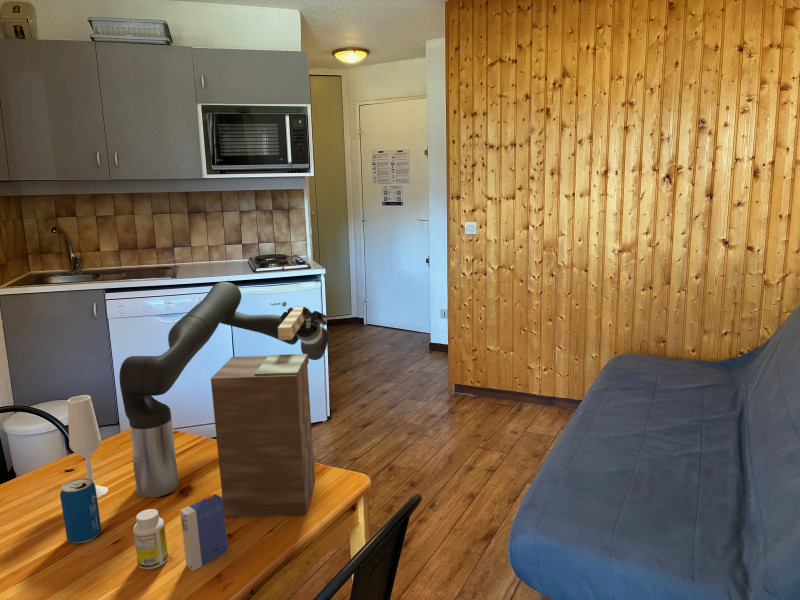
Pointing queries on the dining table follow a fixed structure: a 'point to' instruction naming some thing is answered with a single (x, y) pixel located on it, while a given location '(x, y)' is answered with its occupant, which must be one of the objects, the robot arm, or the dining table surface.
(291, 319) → the pale wooden plank
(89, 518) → the beverage can
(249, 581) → the dining table surface
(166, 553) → the supplement bottle
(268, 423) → the walnut stand
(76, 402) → the champagne flute
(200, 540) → the blue cardboard box
